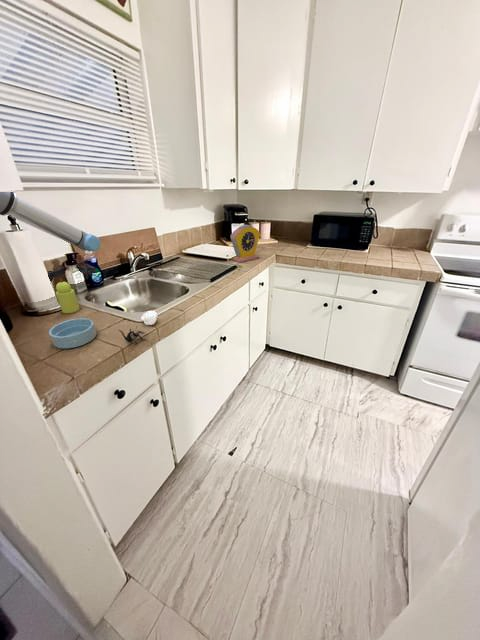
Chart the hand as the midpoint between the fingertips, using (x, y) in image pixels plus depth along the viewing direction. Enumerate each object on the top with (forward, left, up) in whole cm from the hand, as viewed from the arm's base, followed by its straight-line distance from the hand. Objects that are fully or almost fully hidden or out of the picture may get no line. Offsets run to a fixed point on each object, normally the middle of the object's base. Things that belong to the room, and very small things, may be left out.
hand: (67, 278), depth 107 cm
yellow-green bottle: (+5, -9, -10) cm, 14 cm away
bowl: (+22, -29, -10) cm, 37 cm away
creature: (+42, -27, -10) cm, 51 cm away
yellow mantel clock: (+66, +78, -10) cm, 102 cm away
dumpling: (+41, -15, -10) cm, 45 cm away
